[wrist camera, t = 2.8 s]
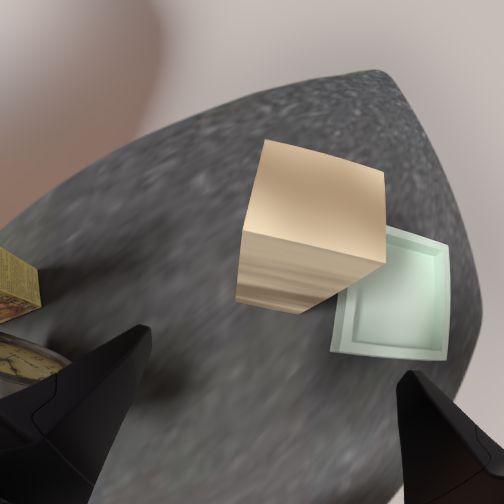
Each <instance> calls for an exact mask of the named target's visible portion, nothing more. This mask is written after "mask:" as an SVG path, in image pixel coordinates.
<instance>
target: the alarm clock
mask: <svg viewBox="0 0 504 504" xmlns="http://www.w3.org/2000/svg"><path fill="white" fill-rule="evenodd" d="M71 363H72V362H71V361H70V360H68V359H67V358H65V357H64V356H62V355H60V354H58V353H56V352H54V351H52V350H49V349H47V348H45V347H42V346H40V345H37V344H35V343H32V342H29V341H27V340H24V339H21V338H18V337H15V336H12V335H9V334H5V333H3V332H0V398H3V397H5V396H7V395H10V394H12V393H15V392H17V391H19V390H22V389H24V388H26V387H28V386H31V385H33V384H35V383H37V382H39V381H41V380H42V379H44V378H46V377H48V376H50V375H51V374H53V373H55V372H58V370H60V369H62V368H64V367H65V366H67V365H69V364H71Z"/></svg>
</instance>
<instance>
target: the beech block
mask: <svg viewBox="0 0 504 504" xmlns="http://www.w3.org/2000/svg"><path fill="white" fill-rule="evenodd" d="M384 264H386V204H385V186H384V172H381V171H378V170H375V169H372V168H369V167H366V166H363V165H360V164H357V163H354V162H351V161H347V160H344V159H341V158H337V157H334V156H330V155H327V154H323V153H319V152H316V151H312V150H308V149H304V148H300V147H296V146H292V145H288V144H283V143H279V142H275V141H270V140H265V143H264V147H263V151H262V155H261V158H260V162H259V166H258V170H257V174H256V178H255V182H254V186H253V190H252V194H251V198H250V202H249V206H248V210H247V215H246V219H245V223H244V227H243V232H242V241H241V250H240V260H239V269H238V279H237V288H236V298H235V301H236V302H241V303H245V304H250V305H254V306H259V307H264V308H269V309H274V310H279V311H284V312H289V313H294V314H301V313H302V312H304V311H306V310H308V309H310V308H312V307H313V306H315V305H317V304H319V303H321V302H322V301H324V300H326V299H328V298H329V297H331V296H333V295H335V294H336V293H338V292H340V291H342V290H343V289H345V288H347V287H348V286H350V285H352V284H353V283H355V282H357V281H358V280H360V279H362V278H363V277H365V276H367V275H368V274H370V273H371V272H373V271H375V270H376V269H378V268H379V267H381V266H383V265H384Z"/></svg>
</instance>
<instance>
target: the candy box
mask: <svg viewBox="0 0 504 504" xmlns="http://www.w3.org/2000/svg"><path fill="white" fill-rule="evenodd" d="M41 307H42V306H41V299H40V292H39V282H38V271H37V269H36V268H34V267H32V266H31V265H29V264H27V263H26V262H24V261H22V260H21V259H19V258H17V257H16V256H14V255H12V254H11V253H9V252H8V251H6V250H5V249H3V248H2V247H0V323H3V322H5V321H8V320H11V319H13V318H15V317H18V316H20V315H23V314H25V313H28V312H30V311H33V310H36V309H38V308H41Z"/></svg>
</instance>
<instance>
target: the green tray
mask: <svg viewBox="0 0 504 504" xmlns="http://www.w3.org/2000/svg"><path fill="white" fill-rule="evenodd" d="M449 325H450V264H449V249H448V245H445V244H443V243H440V242H437V241H434V240H431V239H428V238H425V237H422V236H419V235H416V234H412V233H409V232H406V231H403V230H400V229H396V228H393V227H390V226H387V225H386V264H384V265H383V266H381V267H379V268H378V269H376V270H375V271H373V272H371V273H370V274H368V275H367V276H365V277H363V278H362V279H360V280H358V281H357V282H355V283H353V284H352V285H350V286H348V287H347V288H345V289H343V290H342V291H340V292H338V300H337V307H336V315H335V322H334V328H333V335H332V341H331V347H330V352H336V353H344V354H352V355H360V356H370V357H380V358H391V359H404V360H421V361H443V360H447V351H448V340H449Z"/></svg>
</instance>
